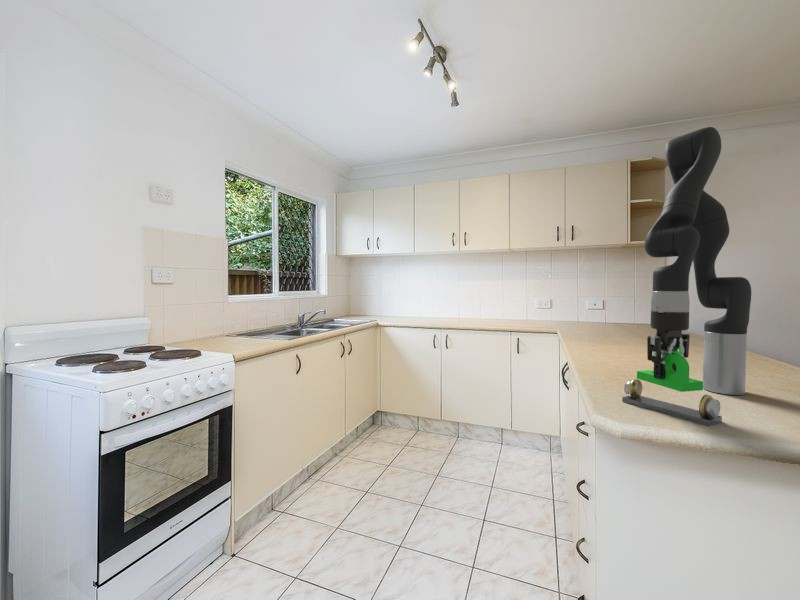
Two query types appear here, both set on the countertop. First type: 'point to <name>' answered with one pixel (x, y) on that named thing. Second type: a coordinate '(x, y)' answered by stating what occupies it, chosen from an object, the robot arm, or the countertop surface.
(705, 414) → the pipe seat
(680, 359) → the mechanical part
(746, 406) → the countertop surface
